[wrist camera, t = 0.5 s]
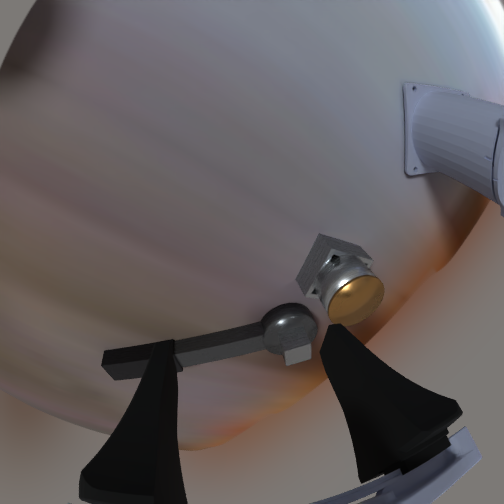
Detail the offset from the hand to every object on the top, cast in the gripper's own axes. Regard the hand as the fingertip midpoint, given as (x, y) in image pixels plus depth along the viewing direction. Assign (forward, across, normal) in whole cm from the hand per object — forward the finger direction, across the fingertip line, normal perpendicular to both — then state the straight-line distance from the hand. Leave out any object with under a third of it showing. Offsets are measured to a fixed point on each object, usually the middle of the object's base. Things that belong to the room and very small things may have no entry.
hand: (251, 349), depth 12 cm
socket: (+10, -9, +3) cm, 14 cm away
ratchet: (+10, +2, +11) cm, 15 cm away
